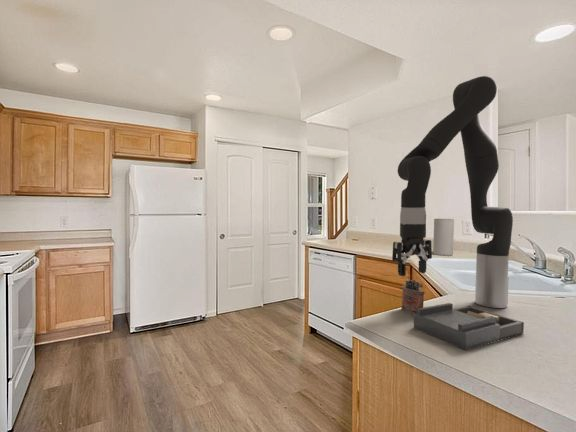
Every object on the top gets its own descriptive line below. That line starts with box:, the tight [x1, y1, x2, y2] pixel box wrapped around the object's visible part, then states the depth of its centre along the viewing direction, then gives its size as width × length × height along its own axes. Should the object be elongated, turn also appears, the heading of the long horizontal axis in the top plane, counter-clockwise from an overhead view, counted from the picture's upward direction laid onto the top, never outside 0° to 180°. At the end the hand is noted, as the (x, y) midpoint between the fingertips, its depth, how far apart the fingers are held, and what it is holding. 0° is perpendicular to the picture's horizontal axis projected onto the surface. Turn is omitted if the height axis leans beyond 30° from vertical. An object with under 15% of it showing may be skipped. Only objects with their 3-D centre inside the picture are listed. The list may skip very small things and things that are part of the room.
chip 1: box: [467, 311, 486, 319], centre depth 87 cm, size 4×4×2 cm
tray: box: [453, 305, 525, 341], centre depth 89 cm, size 10×15×3 cm
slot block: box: [413, 302, 500, 351], centre depth 84 cm, size 13×15×6 cm
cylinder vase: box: [432, 218, 455, 257], centre depth 226 cm, size 12×12×25 cm
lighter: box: [401, 279, 425, 316], centre depth 100 cm, size 8×3×10 cm, turn 24°
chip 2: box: [479, 312, 499, 324], centre depth 90 cm, size 4×4×2 cm
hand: (412, 274), depth 100 cm, fingers open, 8 cm apart
